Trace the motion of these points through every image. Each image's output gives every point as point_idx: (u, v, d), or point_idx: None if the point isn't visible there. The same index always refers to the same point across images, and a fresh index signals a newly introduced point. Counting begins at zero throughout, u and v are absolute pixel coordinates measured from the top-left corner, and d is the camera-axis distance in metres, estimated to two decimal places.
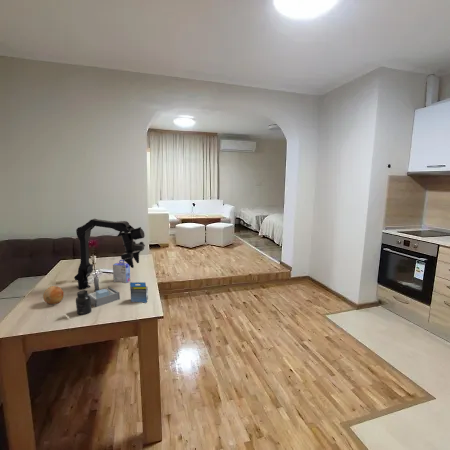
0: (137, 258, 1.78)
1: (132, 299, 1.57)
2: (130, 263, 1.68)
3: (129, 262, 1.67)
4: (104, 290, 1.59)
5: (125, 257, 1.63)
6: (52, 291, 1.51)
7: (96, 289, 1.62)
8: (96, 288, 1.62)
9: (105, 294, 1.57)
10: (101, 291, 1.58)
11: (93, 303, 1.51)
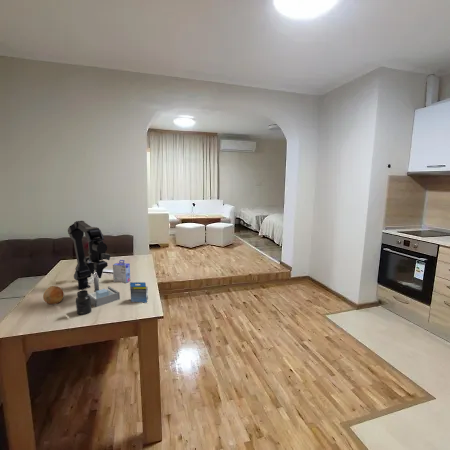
0: (93, 269, 1.65)
1: (132, 299, 1.57)
2: (100, 273, 1.58)
3: (99, 272, 1.57)
4: (104, 290, 1.59)
5: (102, 266, 1.54)
6: (52, 291, 1.51)
7: (96, 289, 1.62)
8: (96, 288, 1.62)
9: (105, 294, 1.57)
10: (101, 291, 1.58)
11: (93, 303, 1.51)
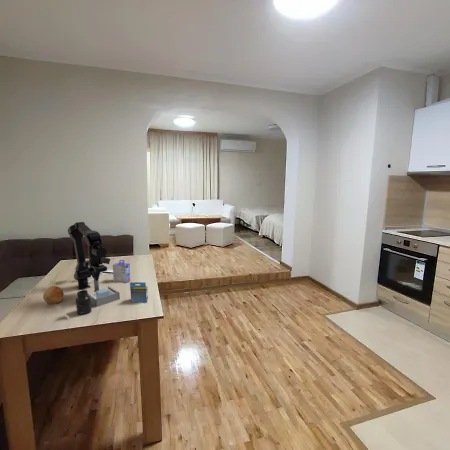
0: None
1: (132, 299, 1.57)
2: (97, 276, 1.60)
3: (96, 274, 1.60)
4: (104, 290, 1.59)
5: (101, 270, 1.55)
6: (52, 291, 1.51)
7: (96, 289, 1.62)
8: (96, 288, 1.62)
9: (105, 294, 1.57)
10: (101, 291, 1.58)
11: (93, 303, 1.51)
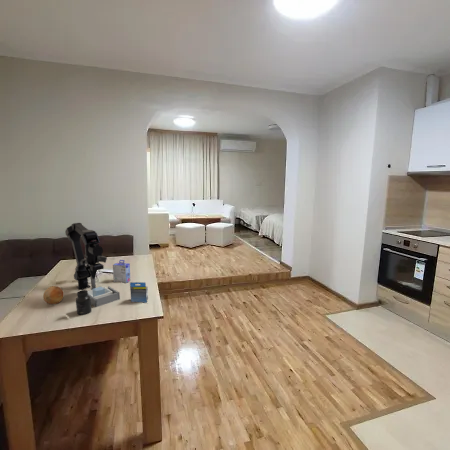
0: None
1: (132, 299, 1.57)
2: (93, 274, 1.63)
3: (93, 273, 1.63)
4: (101, 288, 1.62)
5: (98, 268, 1.58)
6: (52, 291, 1.51)
7: (93, 287, 1.65)
8: (93, 286, 1.65)
9: (101, 292, 1.61)
10: (98, 289, 1.61)
11: (93, 303, 1.51)
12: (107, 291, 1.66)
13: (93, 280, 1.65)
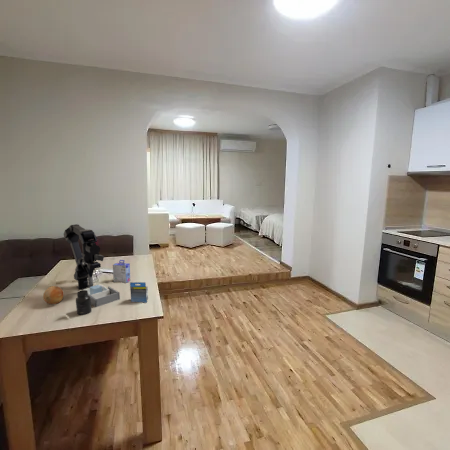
0: None
1: (132, 299, 1.57)
2: (91, 272, 1.66)
3: (90, 271, 1.65)
4: (98, 286, 1.65)
5: (95, 267, 1.60)
6: (52, 291, 1.51)
7: (90, 285, 1.68)
8: (90, 284, 1.68)
9: (99, 290, 1.63)
10: (95, 287, 1.63)
11: (93, 303, 1.51)
12: (104, 289, 1.68)
13: (90, 278, 1.67)
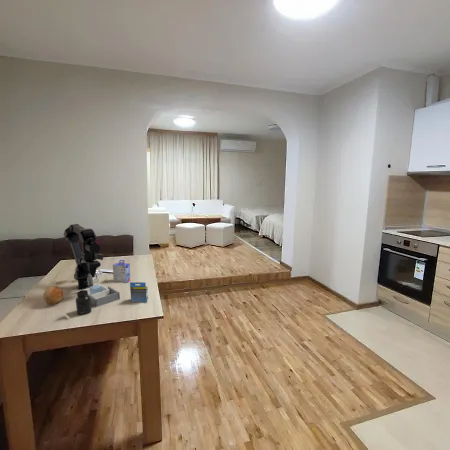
0: (87, 268, 1.71)
1: (132, 299, 1.57)
2: (93, 272, 1.63)
3: (92, 271, 1.63)
4: (98, 286, 1.65)
5: (95, 265, 1.60)
6: (52, 291, 1.51)
7: (90, 285, 1.68)
8: (90, 284, 1.68)
9: (99, 290, 1.63)
10: (95, 287, 1.63)
11: (93, 303, 1.51)
12: (104, 289, 1.68)
13: (90, 278, 1.67)
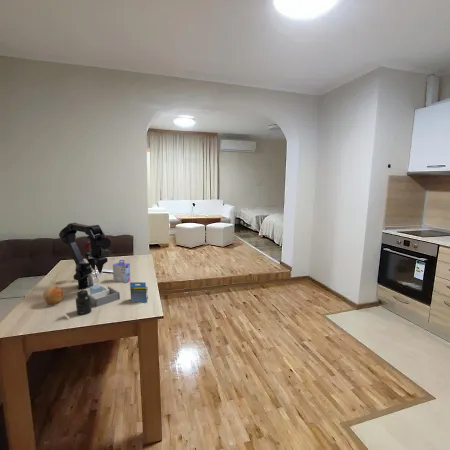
0: (94, 264, 1.73)
1: (132, 299, 1.57)
2: (100, 268, 1.66)
3: (99, 267, 1.65)
4: (98, 286, 1.65)
5: (102, 261, 1.62)
6: (52, 291, 1.51)
7: (90, 285, 1.68)
8: (90, 284, 1.68)
9: (99, 290, 1.63)
10: (95, 287, 1.63)
11: (93, 303, 1.51)
12: (104, 289, 1.68)
13: (90, 278, 1.67)
